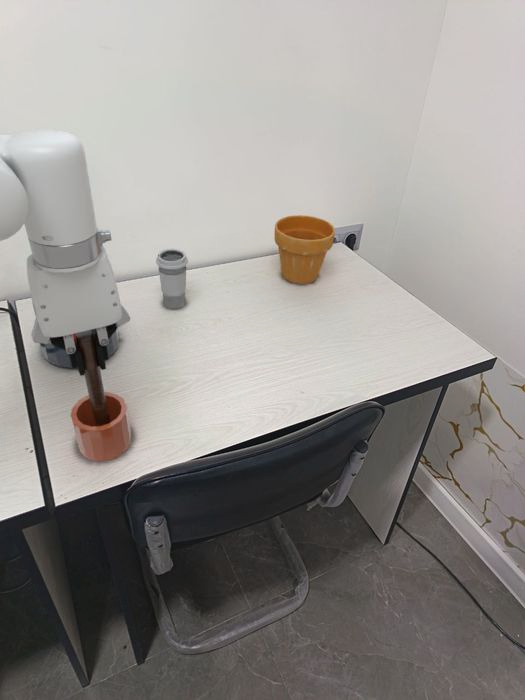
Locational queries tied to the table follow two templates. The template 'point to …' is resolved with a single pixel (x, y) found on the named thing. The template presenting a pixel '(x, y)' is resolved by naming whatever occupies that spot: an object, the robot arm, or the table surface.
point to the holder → (102, 429)
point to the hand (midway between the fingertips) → (90, 365)
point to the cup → (172, 277)
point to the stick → (93, 377)
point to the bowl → (62, 357)
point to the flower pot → (303, 246)
